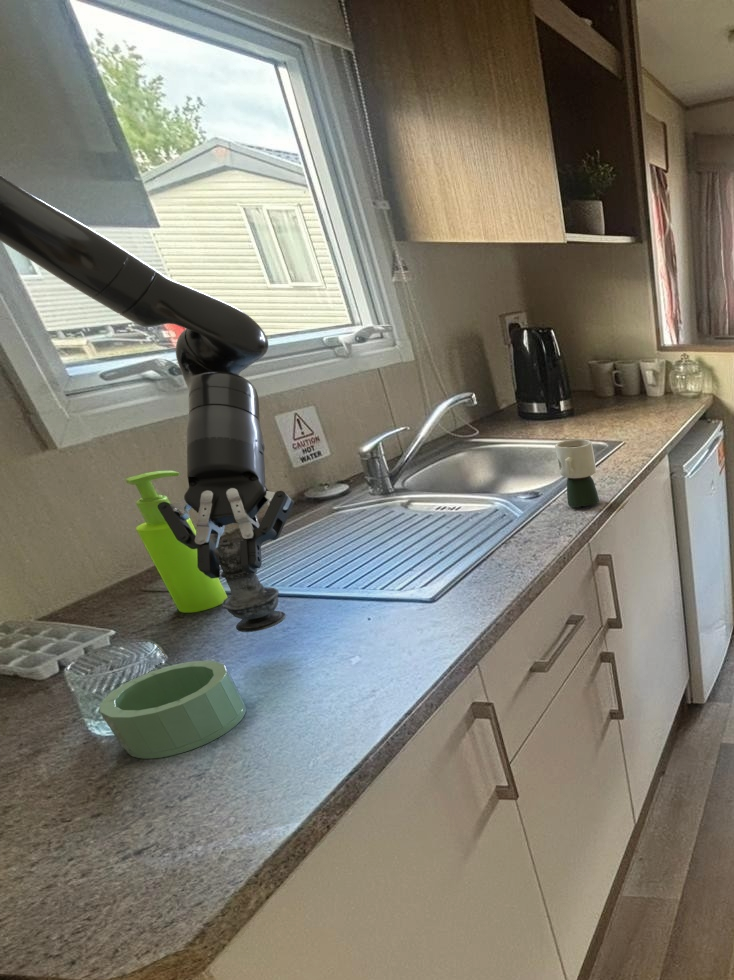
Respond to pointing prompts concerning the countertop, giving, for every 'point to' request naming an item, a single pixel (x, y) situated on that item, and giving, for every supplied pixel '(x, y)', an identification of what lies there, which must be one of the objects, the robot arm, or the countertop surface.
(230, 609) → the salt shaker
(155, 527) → the soap dispenser
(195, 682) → the holder
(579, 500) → the character mug
